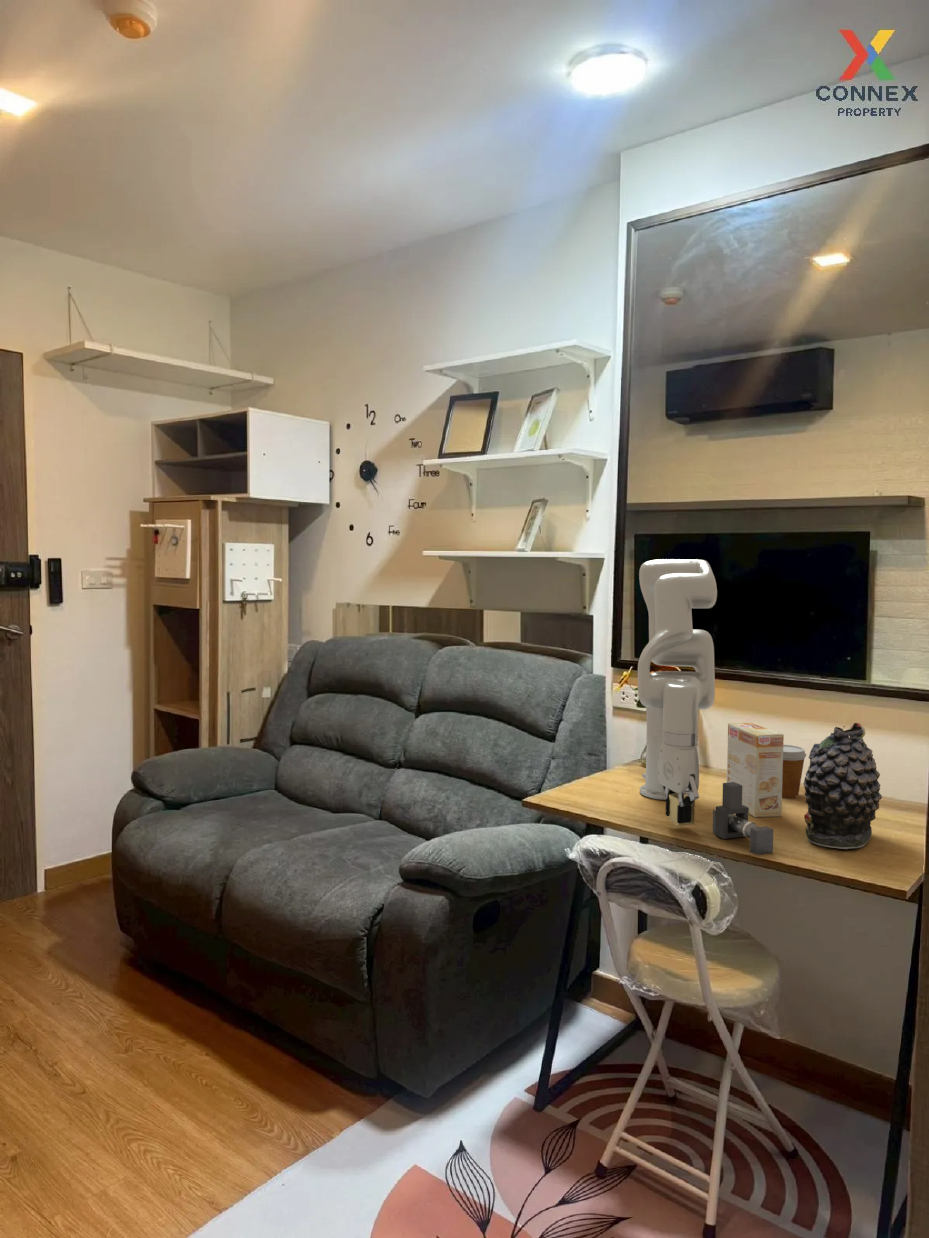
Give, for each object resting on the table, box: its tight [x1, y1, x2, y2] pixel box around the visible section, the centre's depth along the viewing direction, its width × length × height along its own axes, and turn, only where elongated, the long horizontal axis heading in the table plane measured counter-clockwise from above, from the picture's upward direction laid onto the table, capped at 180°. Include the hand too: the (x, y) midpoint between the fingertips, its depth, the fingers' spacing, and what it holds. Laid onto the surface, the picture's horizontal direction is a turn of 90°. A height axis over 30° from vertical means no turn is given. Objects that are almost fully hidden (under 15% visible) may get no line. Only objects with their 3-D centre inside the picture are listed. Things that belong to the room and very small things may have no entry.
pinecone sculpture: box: [803, 722, 883, 850], centre depth 177 cm, size 21×15×25 cm
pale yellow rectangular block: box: [668, 793, 696, 827], centre depth 184 cm, size 4×4×6 cm
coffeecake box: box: [726, 722, 785, 818], centre depth 200 cm, size 15×7×20 cm, turn 8°
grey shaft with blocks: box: [712, 809, 774, 856], centre depth 176 cm, size 15×4×5 cm, turn 18°
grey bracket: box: [714, 782, 749, 840], centre depth 179 cm, size 3×6×11 cm, turn 108°
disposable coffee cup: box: [782, 744, 807, 799], centre depth 211 cm, size 10×10×12 cm
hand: (678, 817), depth 184 cm, fingers closed on pale yellow rectangular block, 4 cm apart
